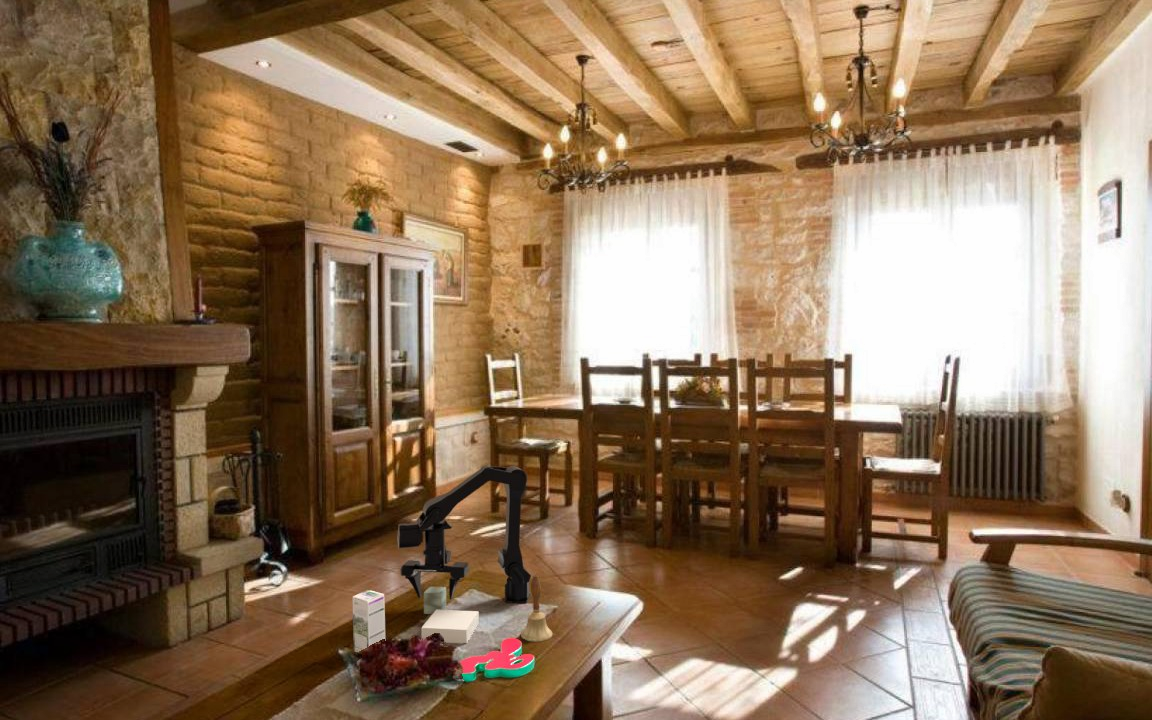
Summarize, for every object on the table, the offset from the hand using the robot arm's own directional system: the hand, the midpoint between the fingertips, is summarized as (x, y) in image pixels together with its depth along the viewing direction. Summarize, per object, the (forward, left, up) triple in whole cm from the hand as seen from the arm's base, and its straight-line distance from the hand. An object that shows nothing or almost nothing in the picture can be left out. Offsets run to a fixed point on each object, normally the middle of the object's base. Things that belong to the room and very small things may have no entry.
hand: (435, 598), depth 199 cm
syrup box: (+8, +27, -4) cm, 28 cm away
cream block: (-9, +14, -4) cm, 17 cm away
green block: (0, 0, -4) cm, 4 cm away
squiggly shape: (-24, +31, -4) cm, 39 cm away
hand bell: (-32, +13, -4) cm, 35 cm away
